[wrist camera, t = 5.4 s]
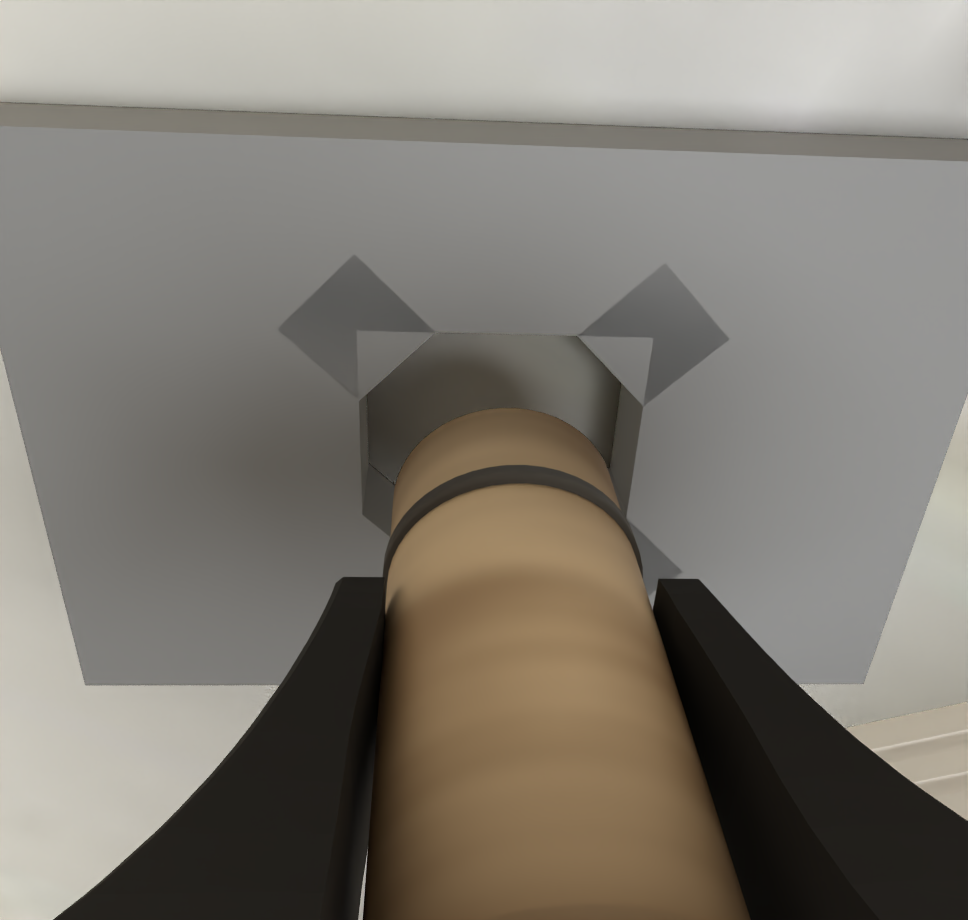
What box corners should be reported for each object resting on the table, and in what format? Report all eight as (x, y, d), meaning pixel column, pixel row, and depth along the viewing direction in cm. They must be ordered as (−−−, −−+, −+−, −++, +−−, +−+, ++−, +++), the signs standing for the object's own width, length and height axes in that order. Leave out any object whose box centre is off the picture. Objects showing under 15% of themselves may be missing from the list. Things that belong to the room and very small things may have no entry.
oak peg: (598, 598, 17) (726, 1127, 10) (385, 590, 17) (345, 1134, 9) (634, 410, 15) (835, 899, 8) (392, 397, 15) (347, 896, 7)
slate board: (831, 627, 23) (863, 684, 21) (112, 625, 22) (85, 685, 20) (987, 140, 17) (1049, 164, 15) (-3, 102, 16) (-57, 123, 14)
